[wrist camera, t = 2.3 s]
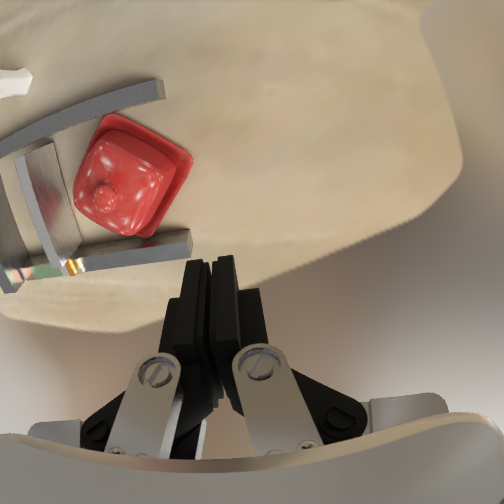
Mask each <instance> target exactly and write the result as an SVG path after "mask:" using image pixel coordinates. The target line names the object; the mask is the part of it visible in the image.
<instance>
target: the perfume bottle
mask: <svg viewBox="0 0 504 504" xmlns="http://www.w3.org/2000/svg"><path fill="white" fill-rule="evenodd" d="M32 79H33V76H32V75H31V74H30V73H29V71H28V70H27V69H26V68H22V69H19V70H17V71H13V70H0V99H1V98H5V97H8V96H13V97H17V96H26V95H27V92H28V90H29V87H30V84H31V81H32Z"/></svg>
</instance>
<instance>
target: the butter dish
mask: <svg viewBox="0 0 504 504" xmlns="http://www.w3.org/2000/svg"><path fill="white" fill-rule="evenodd" d="M192 164H193V158H192V156H191V155H190V154H189V153H188V152H187V151H185V150H184V149H182V148H181V147H179V146H177V145H175V144H174V143H172V142H170V141H169V140H167V139H165V138H163V137H161V136H160V135H158V134H156V133H154V132H152V131H151V130H149V129H147V128H145V127H143V126H141V125H139V124H137V123H136V122H133V121H131V120H129V119H127V118H125V117H123V116H121V115H118V114H115V113H109V114H107V115H106V116H105V117H104V118H103V119H102V121H101V123H100V124H99V126H98V128H97V130H96V132H95V134H94V136H93V138H92V140H91V142H90V145H89V147H88V149H87V151H86V154H85V156H84V158H83V161H82V163H81V166H80V168H79V171H78V174H77V176H76V179H75V182H74V187H73V196H74V204H75V206H76V208H77V209H78V210H79V211H80V212H81V213H82V214H84V215H85V216H86V217H88V218H89V219H91V220H92V221H94V222H96V223H97V224H99V225H101V226H103V227H105V228H107V229H108V230H110V231H113V232H115V233H118V234H121V235H126V236H130V235H133V234H134V235H137V236H139V237H142V238H149V237H150V236H152V235H153V233H154V232H155V230H156V228H157V227H158V226H159V224H160V222H161V220H162V219H163V217H164V215H165V214H166V212H167V210H168V209H169V207H170V205H171V203H172V202H173V200H174V198H175V196H176V195H177V193H178V191H179V190H180V188H181V186H182V185H183V183H184V181H185V180H186V178H187V176H188V174H189V172H190V170H191V167H192Z"/></svg>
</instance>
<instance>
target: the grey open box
mask: <svg viewBox="0 0 504 504" xmlns="http://www.w3.org/2000/svg"><path fill="white" fill-rule="evenodd" d="M163 99H166V98H165V91H164V84H163V81H161V80H157V79H155V80H151V81H147V82H143V83H139V84H136V85H132V86H129V87H125V88H122V89H119V90H115V91H112V92H109V93H106V94H103V95H100V96H97V97H94V98H92V99H89V100H86V101H84V102H81V103H78V104H76V105H73V106H71V107H68V108H66V109H64V110H61V111H59V112H57V113H54V114H52V115H50V116H48V117H46V118H43V119H41V120H39V121H37V122H35V123H33V124H31V125H29V126H27V127H25V128H23V129H21V130H19V131H18V132H16V133H14V134H12V135H10V136H9V137H7V138H5V139H3V140H2V141H0V159H2V158H4V157H6V156H7V155H9V154H11V153H13V152H15V151H17V150H19V149H21V148H23V147H25V146H27V145H29V144H32V143H34V142H36V141H38V140H40V139H43V138H45V137H47V136H50V135H52V134H54V133H57V132H59V131H62V130H64V129H67V128H69V127H72V126H75V125H77V124H80V123H83V122H86V121H88V120H91V119H94V118H97V117H100V116H103V115H107V114H109V113H113V112H116V111H120V110H123V109H127V108H130V107H134V106H138V105H142V104H146V103H150V102H154V101H158V100H163ZM192 248H193V241H192V237H191V232H190V229H188V230H181V231H175V232H168V233H161V234H155V235H152V236H150V237H149V238H142V237H136V238H130V239H124V240H118V241H112V242H106V243H100V244H95V245H89V246H83V247H78V248H76V250H75V251H74V252H73V254H72V255H71V256H70V258H71V261H72V263H73V265H74V267H75V270H76V272H77V273H76V274H81V273H84V272H87V271H94V270H101V269H109V268H116V267H124V266H132V265H139V264H147V263H154V262H162V261H169V260H177V259H185V258H191V253H192ZM66 275H69V273H68V270H67V268H66V266H65V264H64V266H63V267H59V268H52V266H51V264H50V262H49V260H48V257H47V255H46V254H41V255H36V256H31V257H30V256H29V254H28V252H27V249H26V247H25V245H24V242H23V240H22V238H21V235H20V233H19V230H18V228H17V225H16V222H15V220H14V217H13V214H12V211H11V208H10V205H9V202H8V199H7V196H6V193H5V190H4V186H3V183H2V179H1V176H0V287H1V288H2V290H3V292H4V294H6V293H16V292H17V291H18V289H19V288H20V287H21V285H22V284H23V283H24V281H25V280H27V281H28V280H36V279H43V278H51V277H58V276H66Z"/></svg>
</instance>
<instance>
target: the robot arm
mask: <svg viewBox="0 0 504 504" xmlns="http://www.w3.org/2000/svg"><path fill="white" fill-rule="evenodd" d="M223 386H224V389H225V391H226V394H227V397H228V398H229V399H230V402H231V404H232V407H233V410H235V411H236V412H238V413H239V414H241V415H242V416H244V417H245V420H246V424H247V427H248V431H249V435H250V438H251V442H252V445H253V448H254V452H255V455H256V457H246V458H234V459H233V458H232V459H212V460H201V455H202V449H203V443H204V437H205V431H206V425H207V416H208V415H209V414H210V413H211V412H212V411H213V408H216V407H218V399H223V397H224V392H223ZM0 504H504V435H503V434H502V432H501V430H500V429H499V428H498V427H497V425H496V424H495V423H494V422H493V421H492V420H491V419H489V418H488V417H486V416H484V415H482V414H478V413H470V412H452V413H449V411H448V406H447V404H446V402H445V400H444V399H443V398H442V397H441V396H440V395H437V394H435V393H421V394H414V395H406V396H398V397H389V398H377V399H371V400H370V401H369V402H358V401H356V400H355V399H353V398H350V397H349V396H346V395H344V394H342V393H340V392H338V391H336V390H334V389H331V388H329V387H327V386H325V385H323V384H321V383H319V382H317V381H315V380H313V379H311V378H309V377H307V376H305V375H303V374H301V373H299V372H297V371H295V370H293V369H291V368H290V366H289V364H288V361H287V359H286V357H285V355H284V354H283V352H282V351H281V350H280V349H278V348H277V347H275V346H273V345H269V344H268V338H267V332H266V327H265V320H264V315H263V309H262V303H261V297H260V292H259V288H254V289H245V290H239V287H238V281H237V275H236V269H235V263H234V257H233V255H227V256H220V257H218V261H213V262H212V275H211V271H210V266H209V263H208V262H205V263H203V260H202V259H197V260H190V261H187V262H186V267H185V272H184V277H183V282H182V288H181V293H180V297H179V298H170V299H169V302H168V306H167V310H166V315H165V320H164V325H163V330H162V335H161V340H160V346H159V351H158V353H154V354H151V355H148V356H146V357H145V358H143V359H142V360H141V361H140V362H139V363H138V364H137V366H136V367H135V369H134V371H133V373H132V376H131V378H130V381H129V384H128V387H127V389H126V390H125V391H124V392H123V393H121V394H120V395H119V396H117V397H116V398H115V399H113V400H112V401H110V402H109V403H108V404H107V405H105V406H104V407H102V408H101V409H99V410H98V411H97V412H95V413H94V414H93V415H91V416H90V417H89V418H88V419H87V420H86V421H85V422H82V421H81V420H80V419H79V420H68V421H54V422H39V423H36V424H34V425H33V426H32V427H31V428H30V430H29V432H28V435H21V434H10V433H9V434H0Z"/></svg>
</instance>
